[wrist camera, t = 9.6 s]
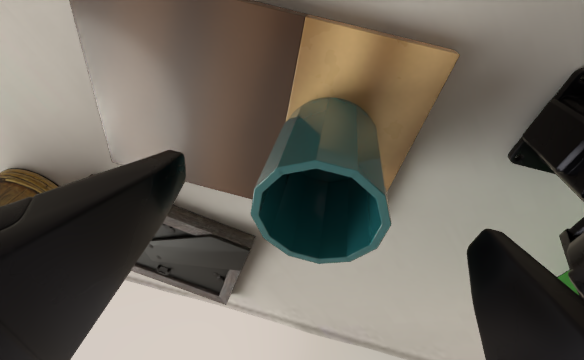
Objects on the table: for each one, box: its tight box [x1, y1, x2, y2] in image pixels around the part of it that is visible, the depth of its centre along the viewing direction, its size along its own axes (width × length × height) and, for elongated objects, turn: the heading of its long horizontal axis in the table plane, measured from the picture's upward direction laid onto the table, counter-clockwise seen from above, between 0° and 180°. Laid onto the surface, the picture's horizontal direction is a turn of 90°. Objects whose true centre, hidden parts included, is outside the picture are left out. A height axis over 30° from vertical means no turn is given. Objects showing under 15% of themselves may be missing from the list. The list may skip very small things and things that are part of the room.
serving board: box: [69, 0, 460, 199], centre depth 21 cm, size 24×15×1 cm, turn 79°
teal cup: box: [251, 97, 391, 264], centre depth 17 cm, size 7×7×8 cm
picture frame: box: [89, 174, 255, 305], centre depth 33 cm, size 13×2×18 cm
